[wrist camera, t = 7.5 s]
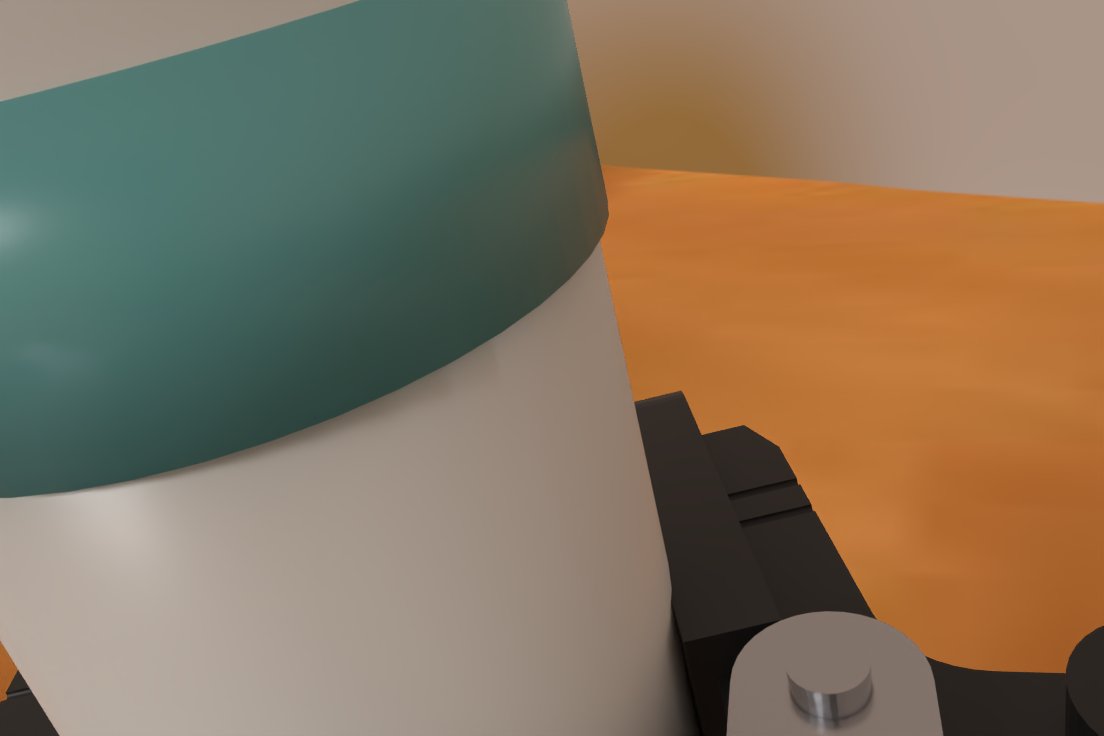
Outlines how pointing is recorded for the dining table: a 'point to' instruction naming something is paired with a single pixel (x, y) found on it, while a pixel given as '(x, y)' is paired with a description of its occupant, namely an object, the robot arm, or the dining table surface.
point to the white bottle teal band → (318, 378)
